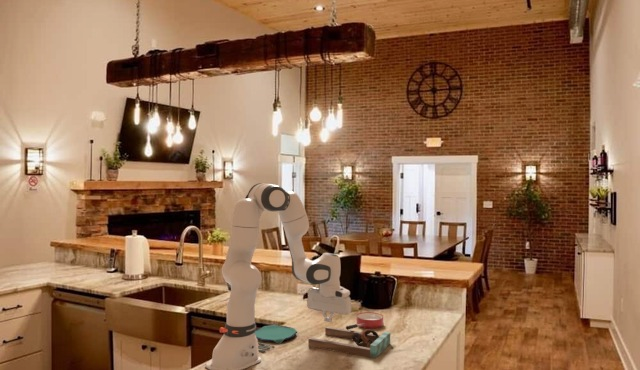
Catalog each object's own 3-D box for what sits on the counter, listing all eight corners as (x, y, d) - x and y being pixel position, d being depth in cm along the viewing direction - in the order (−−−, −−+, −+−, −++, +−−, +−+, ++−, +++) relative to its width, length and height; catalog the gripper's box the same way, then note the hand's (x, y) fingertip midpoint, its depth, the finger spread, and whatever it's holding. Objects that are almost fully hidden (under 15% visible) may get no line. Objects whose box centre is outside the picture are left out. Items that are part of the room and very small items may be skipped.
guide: (375, 358, 200) (375, 346, 200) (308, 345, 213) (308, 334, 213) (390, 343, 217) (390, 332, 217) (327, 333, 230) (327, 322, 230)
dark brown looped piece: (374, 342, 219) (380, 329, 215) (375, 359, 211) (381, 346, 207) (348, 336, 218) (353, 323, 214) (348, 352, 210) (354, 339, 206)
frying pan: (366, 343, 217) (366, 328, 217) (338, 339, 223) (338, 325, 222) (386, 322, 247) (386, 310, 247) (361, 319, 252) (361, 307, 252)
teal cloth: (304, 333, 230) (304, 328, 230) (267, 355, 203) (267, 350, 203) (268, 327, 239) (268, 322, 239) (229, 347, 213) (229, 342, 213)
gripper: (305, 287, 220) (303, 319, 220) (347, 294, 211) (346, 327, 211) (311, 285, 225) (310, 315, 226) (353, 291, 216) (351, 323, 217)
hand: (328, 321), depth 218 cm, fingers closed
